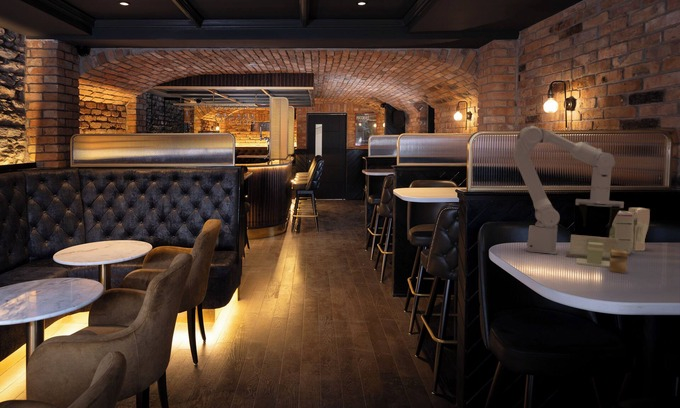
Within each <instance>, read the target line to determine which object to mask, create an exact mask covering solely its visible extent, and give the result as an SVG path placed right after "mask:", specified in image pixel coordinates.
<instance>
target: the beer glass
mask: <svg viewBox="0 0 680 408" xmlns="http://www.w3.org/2000/svg"><path fill="white" fill-rule="evenodd" d="M628 212H630V213H633V227H632V241H631V251H634V252H645V251H646V245H645V239H646V235H647V232H648V230H649V225H650V220H651V219H650V216H651V215H650V212H651V209H650V208H645V207H628Z"/></svg>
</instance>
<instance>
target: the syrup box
mask: <svg viewBox="0 0 680 408" xmlns="http://www.w3.org/2000/svg"><path fill="white" fill-rule="evenodd" d="M628 211H629V210H628ZM628 211H627V210H619V212H618V214H617V215H616V217H615V219H614V221H613V224H612V227H611V229H609V236H608V238H618V240H619V242H618V250H622V251H626V252H627V253H628V254H627V255H631V251H632V250H631V241H632V227H633V213H630V212H628Z"/></svg>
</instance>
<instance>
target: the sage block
mask: <svg viewBox="0 0 680 408" xmlns="http://www.w3.org/2000/svg"><path fill="white" fill-rule="evenodd" d="M602 252H603V244H602V243H597V242H588V252H587V263H595V264H601V263H602V261H603V260H602Z"/></svg>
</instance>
